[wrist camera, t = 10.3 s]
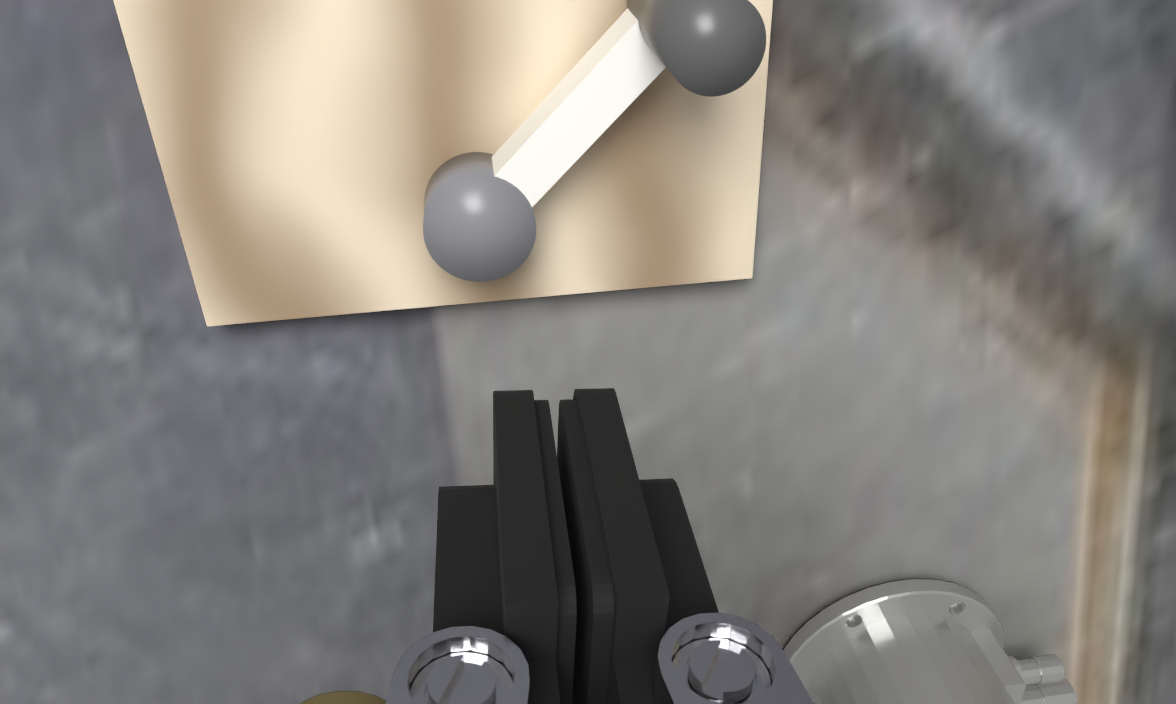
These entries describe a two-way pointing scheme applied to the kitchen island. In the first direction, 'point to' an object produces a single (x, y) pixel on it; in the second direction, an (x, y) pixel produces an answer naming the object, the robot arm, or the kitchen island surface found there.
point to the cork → (345, 698)
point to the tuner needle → (581, 126)
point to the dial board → (422, 151)
